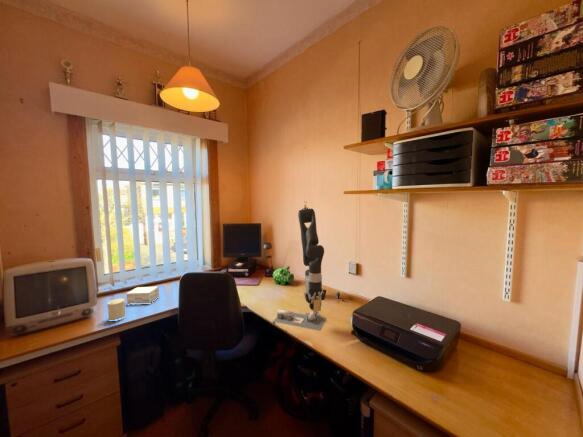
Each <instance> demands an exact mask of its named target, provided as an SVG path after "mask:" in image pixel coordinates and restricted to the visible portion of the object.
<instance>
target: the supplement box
mask: <svg viewBox="0 0 583 437" xmlns="http://www.w3.org/2000/svg"><path fill="white" fill-rule="evenodd" d="M159 290H160V288H159V285H158V286H138V287H135V288H133V289H131V290H130V291H127V293H126V304H130V303H151V302H152V301H153V300H155V299H156V298H157V297H159V298H160V291H159ZM155 301H156V300H155Z"/></svg>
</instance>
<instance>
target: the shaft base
mask: <svg viewBox="0 0 583 437" xmlns="http://www.w3.org/2000/svg"><path fill="white" fill-rule="evenodd" d="M327 319H328V318H327V317H326V318H325V317H321V313H320V311H317V312H313V311H312V310H311V312H305V314H303V313H297V312H294V311H290V310H286V309H285V310H284V309H277V314H276V317H275V318H274V320H273V321H272V324H274V325H275V324H276V323H277V324H278V323H279V324H283V325H289V326H294V327H297V328H298V327H300V328H304V329H305V328H306V329H310V330H315V331H318V332H319V331H320V332H321V331H322V328H323V326H324V325H325V323H326V321H327ZM277 324H276V325H277Z"/></svg>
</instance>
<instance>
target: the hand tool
mask: <svg viewBox="0 0 583 437" xmlns="http://www.w3.org/2000/svg"><path fill="white" fill-rule="evenodd" d="M350 334H351V335H352V336H356V337H357V335H356V332H355V330H354V328H353V329H352V330H351V332H350Z"/></svg>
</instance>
